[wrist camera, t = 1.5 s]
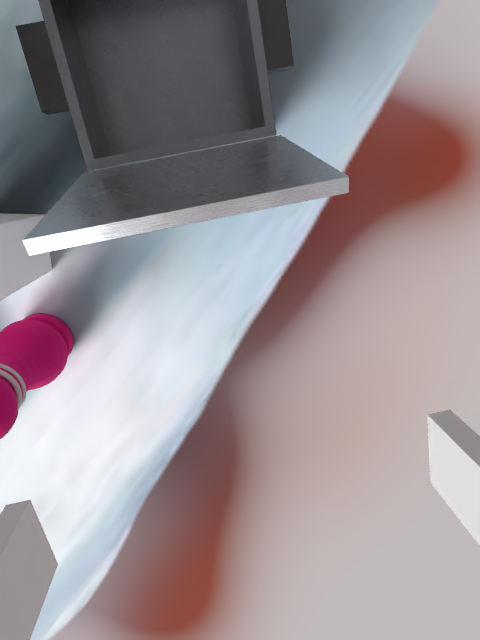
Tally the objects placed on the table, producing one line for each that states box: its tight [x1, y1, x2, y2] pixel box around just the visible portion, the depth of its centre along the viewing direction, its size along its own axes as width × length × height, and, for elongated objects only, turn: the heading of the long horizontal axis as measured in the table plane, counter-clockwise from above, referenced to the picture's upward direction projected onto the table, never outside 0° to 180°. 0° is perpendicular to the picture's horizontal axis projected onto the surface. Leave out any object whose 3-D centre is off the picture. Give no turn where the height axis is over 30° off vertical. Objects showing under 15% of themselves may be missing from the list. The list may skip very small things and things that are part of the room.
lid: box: [22, 135, 349, 256], centre depth 28 cm, size 16×16×3 cm
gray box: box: [16, 0, 294, 171], centre depth 36 cm, size 16×21×9 cm
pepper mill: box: [0, 313, 73, 439], centre depth 38 cm, size 7×7×20 cm
